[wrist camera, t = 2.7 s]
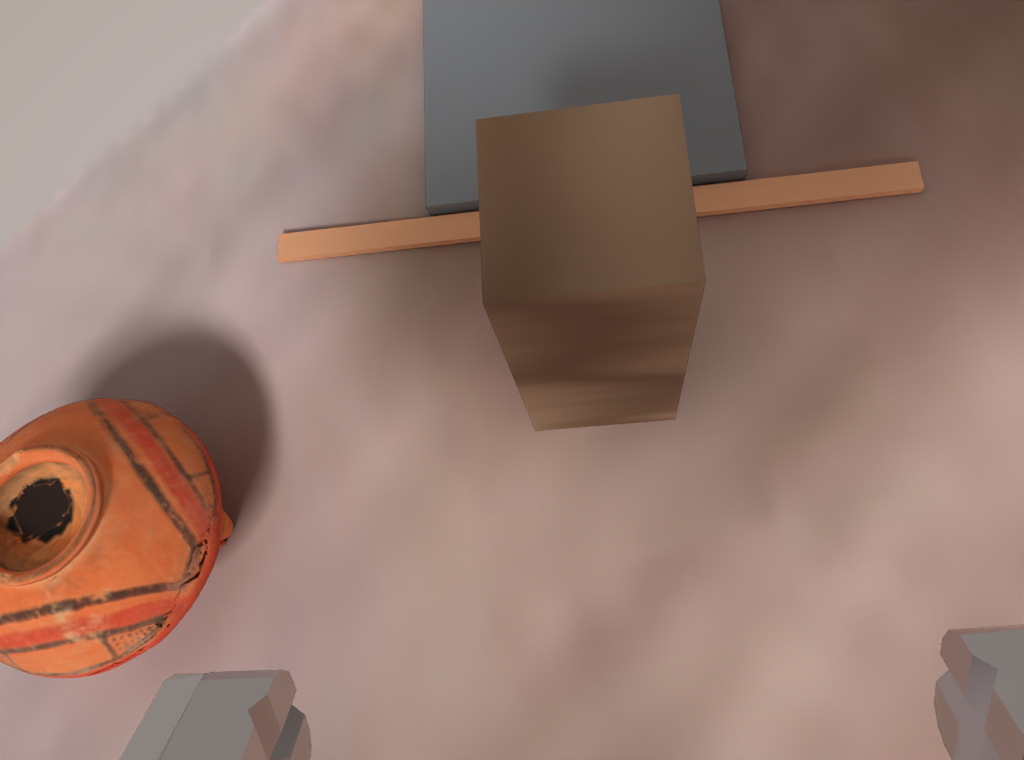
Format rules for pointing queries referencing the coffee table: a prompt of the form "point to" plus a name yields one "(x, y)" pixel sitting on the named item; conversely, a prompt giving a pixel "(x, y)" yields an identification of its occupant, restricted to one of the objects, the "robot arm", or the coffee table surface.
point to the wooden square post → (591, 258)
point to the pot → (102, 534)
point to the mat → (571, 76)
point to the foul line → (706, 200)
